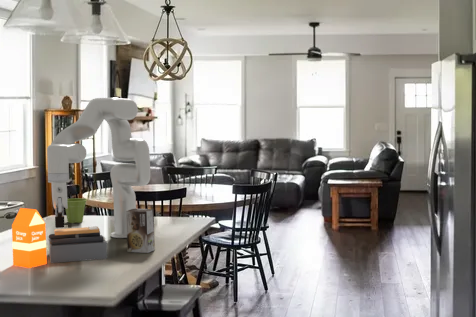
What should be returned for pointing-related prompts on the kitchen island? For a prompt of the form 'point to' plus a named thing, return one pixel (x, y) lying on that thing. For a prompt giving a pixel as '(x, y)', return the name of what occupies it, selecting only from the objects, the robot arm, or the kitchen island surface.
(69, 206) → the plant pot
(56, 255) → the box
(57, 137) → the robot arm
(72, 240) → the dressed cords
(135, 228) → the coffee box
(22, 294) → the kitchen island surface
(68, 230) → the bar
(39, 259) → the orange juice
